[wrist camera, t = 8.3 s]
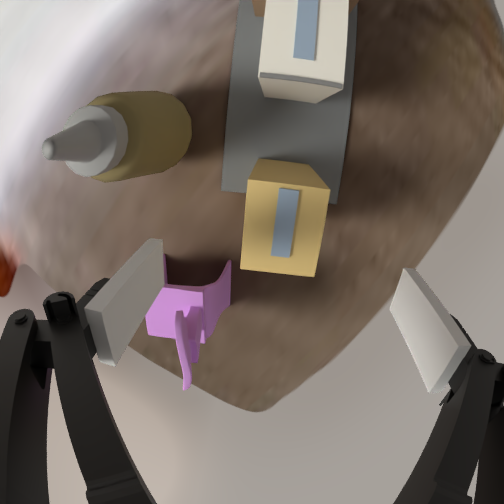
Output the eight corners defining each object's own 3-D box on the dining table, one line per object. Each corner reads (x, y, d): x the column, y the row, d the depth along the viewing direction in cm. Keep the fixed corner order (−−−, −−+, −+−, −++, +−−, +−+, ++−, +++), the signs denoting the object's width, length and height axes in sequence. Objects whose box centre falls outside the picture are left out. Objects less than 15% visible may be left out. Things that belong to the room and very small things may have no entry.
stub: (258, 158, 28) (247, 180, 17) (308, 164, 28) (331, 190, 17) (252, 215, 31) (239, 270, 20) (300, 221, 31) (314, 278, 20)
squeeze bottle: (120, 147, 29) (-4, 184, 13) (152, 82, 26) (33, 58, 10) (178, 181, 30) (82, 248, 14) (216, 114, 27) (138, 104, 11)
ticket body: (257, -7, 21) (242, -95, 7) (341, 4, 21) (388, -73, 7) (246, 95, 26) (216, 64, 12) (333, 106, 26) (392, 89, 12)
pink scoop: (158, 245, 34) (94, 321, 20) (231, 251, 33) (203, 340, 20) (163, 304, 37) (117, 389, 23) (230, 312, 37) (207, 408, 23)
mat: (242, -20, 21) (242, -21, 20) (356, -5, 20) (357, -6, 20) (221, 189, 30) (221, 190, 30) (335, 203, 30) (336, 204, 30)
